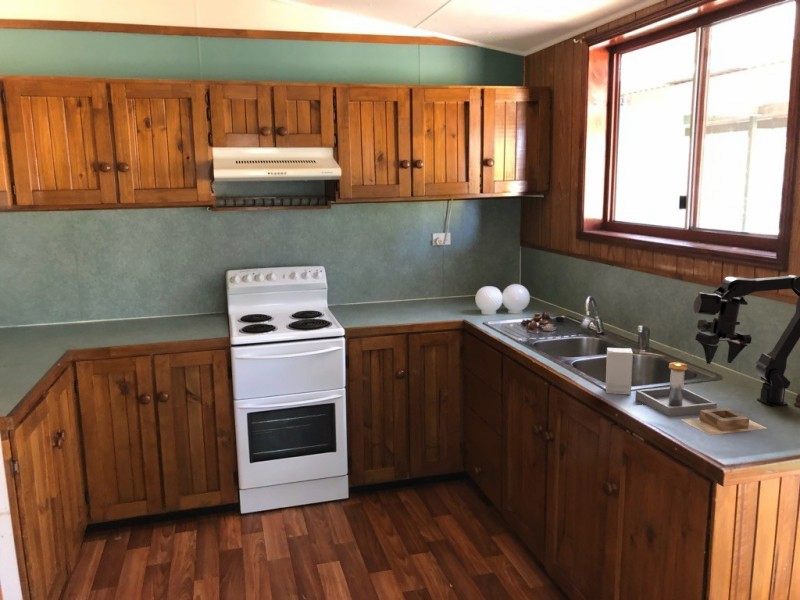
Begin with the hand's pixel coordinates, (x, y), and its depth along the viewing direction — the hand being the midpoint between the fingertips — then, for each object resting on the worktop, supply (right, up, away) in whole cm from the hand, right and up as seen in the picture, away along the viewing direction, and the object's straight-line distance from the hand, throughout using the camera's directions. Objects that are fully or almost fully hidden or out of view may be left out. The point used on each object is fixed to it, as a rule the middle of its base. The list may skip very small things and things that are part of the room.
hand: (718, 363), depth 217 cm
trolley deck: (-8, -17, -20) cm, 27 cm away
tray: (-16, -14, -4) cm, 21 cm away
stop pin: (-16, -13, -4) cm, 20 cm away
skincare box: (-29, -11, +11) cm, 33 cm away
